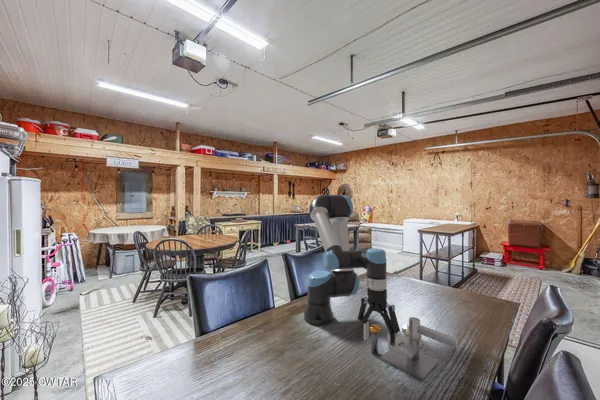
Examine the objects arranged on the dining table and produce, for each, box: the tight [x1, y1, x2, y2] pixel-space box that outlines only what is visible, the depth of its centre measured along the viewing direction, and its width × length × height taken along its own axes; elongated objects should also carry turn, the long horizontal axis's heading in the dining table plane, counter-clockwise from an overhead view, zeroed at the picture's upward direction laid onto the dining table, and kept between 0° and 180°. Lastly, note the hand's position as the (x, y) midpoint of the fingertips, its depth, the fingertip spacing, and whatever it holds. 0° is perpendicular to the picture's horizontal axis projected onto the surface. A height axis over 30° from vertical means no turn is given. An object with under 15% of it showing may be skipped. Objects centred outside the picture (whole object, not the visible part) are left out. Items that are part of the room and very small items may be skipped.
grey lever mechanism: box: [380, 316, 459, 382], centre depth 96 cm, size 23×15×15 cm, turn 42°
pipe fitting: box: [401, 324, 423, 341], centre depth 116 cm, size 8×4×7 cm
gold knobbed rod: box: [369, 323, 381, 355], centre depth 105 cm, size 4×4×10 cm
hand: (378, 343), depth 104 cm, fingers open, 10 cm apart
